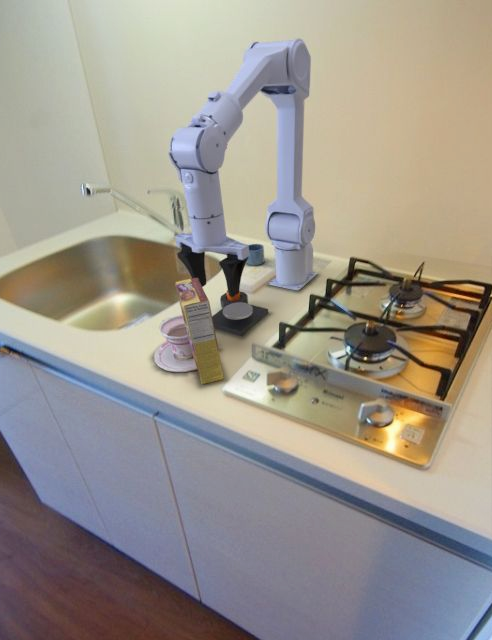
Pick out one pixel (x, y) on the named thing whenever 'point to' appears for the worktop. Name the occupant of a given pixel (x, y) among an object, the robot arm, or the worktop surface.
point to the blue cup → (256, 254)
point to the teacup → (174, 346)
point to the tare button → (233, 297)
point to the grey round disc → (237, 310)
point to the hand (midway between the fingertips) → (217, 290)
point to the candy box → (200, 329)
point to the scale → (240, 325)
